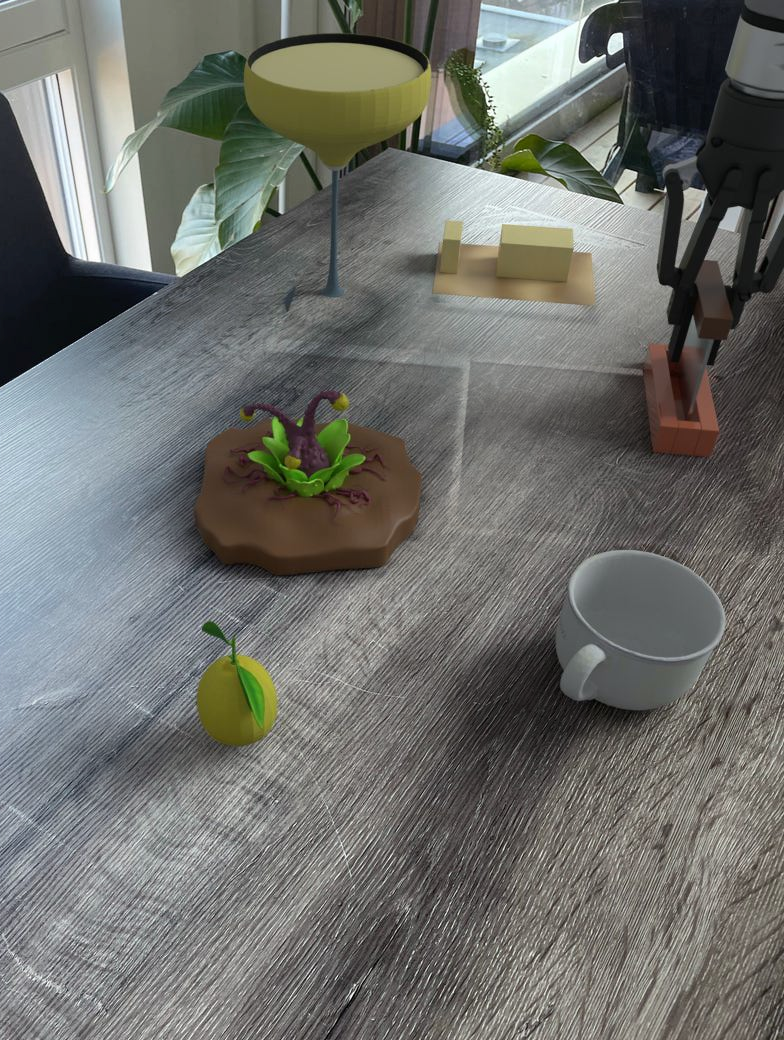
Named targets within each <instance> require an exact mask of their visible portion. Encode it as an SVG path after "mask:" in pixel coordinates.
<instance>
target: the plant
mask: <svg viewBox="0 0 784 1040" xmlns="http://www.w3.org/2000/svg"><path fill="white" fill-rule="evenodd" d="M322 400H328V401H329V404H330V407H331V408H332V409H334V410H335V411H337V412H345V411H346V410H348V408H349V406H350V399H349V398H348V397H347V395H345V393H343V392H341V391H337V390H330V389H328V390H321V391H319V393H317V394H316V395H315V396H314V397H313V398H312V399H311V401H310V403H308V404H307V406H306V407H307V408H306V409H305V410H304V411H303V416H302V417H301V418H300V417H297V418H294V419H291V416H288V413H284V412H283V410H282V409H281V410H280V409H279V407H274V406H273V405H271V404H270V403H267V404H266V403H265V402H263V403H261V402H259V403H258V402H257V403H256V404H255V403H253V404H247V405H244V406H243V407H242V408H240V411H239V417H240V419H241V420H242V421H243V422H244V423H250V422H251V421H252V420H253V419H254V418H255V416H256V410H258V411H261V410H262V411H263V412H268V413H269V414H270V415H273V416H274V417H273V418H264V419H262V420H260V421H259V422H257V423H256V424H254V425H252V426H250V427H247V428H237V427H230V428H227V429H226V430H224V431H222V432H220V433H219V434H217V435H216V436H214V437H213V438H212V439H211V440H210V441H209V442H208V443H207V445H206V447H205V450H204V459H203V463H204V464H203V465H204V473H203V476H202V477H203V478H202V482H201V488H200V491H199V492H200V493H199V496H198V498H197V500H196V502H195V503H194V505H193V509H192V512H193V523H194V526H195V528H196V530H198V532H199V534H200V538H201V540H202V542H203V544H204V545H205V546H206V547H207V548H208V549H209V550H210V551H212V552H213V553H214V554H215V555H216V557H217V558H218V560H219V561H220V563H221V564H222V565H224V566H227V565H234V564H250V565H253V566H257V567H260V568H262V569H264V570H266V571H267V572H268V573H270V574H272V575H276V576H292V575H298V574H310V573H320V572H328V571H329V572H330V571H337V570H339V571H340V570H355V569H368V568H369V569H370V568H379V567H382V566H385V565H387V562H388V561H389V560H390V558H391V556H392V555H393V553H394V552H395V550H396V549H397V547H399V546H400V544H401V543H402V542H404V541H405V540H407V539H408V538H409V537H410V536H411V535H412V533H413V532H414V530H415V528H416V526H417V523H418V519H419V513H420V503H421V502H420V501H421V493H422V484H423V475H422V473H421V471H419V469H417V468H416V467H415V466H414V465H413V464H412V463H411V460H410V459H409V456H408V455H409V454H408V451H407V448H406V444H405V443H406V442H405V439H404V438H402V437H398V436H395V435H392V434H389V433H387V432H383V431H380V430H376V429H372V428H370V427H369V428H368V427H365V426H362V425H358V424H355V423H351V422H348V421H347V419H345V418H340V419H337V420H334V421H332V422H321V423H316V420H315V419H316V418H315V416H316V412H317V409H318V408H319V404H320V403H321V402H322Z"/></svg>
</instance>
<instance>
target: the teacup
mask: <svg viewBox="0 0 784 1040" xmlns="http://www.w3.org/2000/svg"><path fill="white" fill-rule="evenodd" d="M726 619H727V618H726V612H725V608H724V606H723V604H722V601H721V599H720V598H719V596H718V595H717V594H716V592H715V591H714V589H713V588H712V587H711V586H710V585H709V584H708V583H707V582H706V580H704V579H703V578H702V577H701V576H699V575H698V574H697V573H696V572H695V571H694V570H692V569H691V568H689V567H688V566H686V565H683V564H681V563H679V562H678V561H675V560H673V559H671V558H670V557H666V556H663V555H660V554H657V553H653V552H648V551H643V550H635V549H619V550H618V549H616V550H609V551H603V552H600V553H597V554H594V555H592V556H590V557H588V558H586V559H585V560H583V561H581V562H580V563H579V564H578V566H576V567H575V570H573V572H572V574H571V575H570V577H569V580H568V583H567V590H566V595H565V598H564V601H563V604H562V607H561V611H560V614H559V619H558V620H557V621H558V622H557V626H556V632H555V651H556V656H557V658H558V662H559V664H560V667H561V668H562V670H563V673H562V675H561V678H560V682H559V688H560V691H562V693H563V694H564V695H565V696H567V697H568V698H570V699H572V700H573V701H576V702H582V701H583V702H584V701H592V700H596V701H597V702H601V703H602V704H604V705H607V706H610V707H614V708H617V709H621V710H629V711H649V710H654V709H659V708H663V707H665V706H667V705H669V704H672V703H674V702H675V701H677V700H678V699H680V698H681V697H682V696H684V695H685V694H686V693H687V692H688V691H689V690H690V688H691V687H692V686H693V685H694V683H695V682H696V680H697V679H698V677H699V675H700V674H701V672H702V671H703V669H704V667H705V666H706V665H707V662H708V660H709V658H710V657H711V654H712V653H713V651H714V649H715V648H716V647H717V645H719V643H720V642H721V640H722V638H723V636H724V633H725V630H726V621H727V620H726Z"/></svg>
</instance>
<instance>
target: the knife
mask: <svg viewBox="0 0 784 1040" xmlns="http://www.w3.org/2000/svg"><path fill="white" fill-rule="evenodd" d="M724 285H725V283H724V279H723V275H722V272H721V268H720V264H719V261H718V260H711V259H704V261H703V264H702V266H701V268H700V271H699V273H698V276H697V278H696V280H695V287H696V291H697V295H698V298H697V302H696V306H695V309H694V313H693V316H692V320H691V323H690V326H689V330H688V333H687V337H686V340H685V343H684V347H683V350H682V353H681V357H680V360H679V363H675V365H676V371H675V372H677V377H678V383H679V388H680V394H681V400H682V405H683V411H684V417H685V421H690V418H691V414H692V411H693V408H694V404H695V401H696V398H697V394H698V391H699V388H700V384H701V381H702V378H703V374H704V371H705V368H706V369H707V366H708V365H707V361H708V358H709V355H710V351H711V348H712V345H713V341H714V340H722V341H727V340H728V338H729V334H730V331H731V329H730V328H731V325H732V321H733V317H732V314H731V310H730V306H729V302H728V298H727V295H726V291H725V287H724Z"/></svg>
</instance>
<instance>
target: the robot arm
mask: <svg viewBox="0 0 784 1040" xmlns="http://www.w3.org/2000/svg"><path fill="white" fill-rule="evenodd" d="M733 36H734V37H733V40H732V44H731V47H730V51H729V55H728V58H727V61H726V64H725V69H724V70H725V72H726V75H727V76H728V77H727V78H726V79H725V80H724V81H723V82H721V84H720V86H719V91H718V95H717V98H716V102H715V105H714V109H713V113H712V117H711V121H710V124H709V128H708V130H707V131H708V132H707V134H706V137H705V139H704V141H703V142H702V143H701V145H699V147H698V148H697V150H696V151H695V155H694V156H692V157H689V158H687V159H683V160H681V161H678V162H676V161H675V160H667V161H665V162H664V163H663V165H662V167H661V171H662V177H663V182H664V185H665V189H666V193H665V202H664V208H663V216H662V223H661V229H660V230H661V231H660V236H659V246H658V253H657V260H656V274H657V279H658V283H659V285H660V286H663V287H666V286H668V287H670V288H672V290H671V294H670V297H669V301H668V305H667V307H666V312H665V313H666V317H667V324H668V325H669V326H670V325H671V326H673V328H672V331H671V335H670V339H669V341H668V344H667V345H668V351H669V357H670V362H674V363H679V360H680V357H681V353H682V350H683V347H684V343H685V340H686V337H687V333H688V330H689V326H690V323H691V320H692V316H693V313H694V309H695V306H696V302H697V298H698V295H697V291H696V287H695V280H696V278H697V276H698V273H699V271H700V268H701V266H702V264H703V261H704V260H706V257H707V254H708V252H709V250H710V247H711V245H712V243H713V240H714V238H715V235H716V234H717V231H718V229H719V226H720V224H721V223H722V221H723V220H724V219H725V217H726V214H727V212H728V210H729V209H730V208H736V207H740V208H742V209H744V213H743V214H744V215H743V220H742V226H741V231H740V236H739V243H738V246H737V247H738V248H737V252H736V253H737V254H736V258H735V264H734V270H733V274H732V285H730V284H729V285H728V284H724V287H725V291H726V295H727V298H728V302H729V306H730V310H731V314H732V317H733V321H732V325H731V328H730V330H732V331H733V330H736V328H737V327H738V326H739V324H740V320H741V318H742V314H743V312H744V308H745V306H746V303H748V302H749V301H751V299H752V298H753V295H754V294H757V293H762V294H769V293H771V292H773V291H774V289H775V287H776V285H777V283H778V280H779V279H780V277H781V274H782V272H783V270H784V213H783V214H782V217H781V218H780V221H779V223H778V225H777V228H775V231H774V234H773V235H772V238H771V240H770V241H769V245H768V246H767V249H766V251H765V252H764V255H763V257H762V258H761V259H762V260H761V261H760V264H759V266H758V268H757V262H758V257H759V252H760V247H761V242H762V237H763V231H764V227H765V223H766V221H767V218H768V215H769V208H770V203H771V202H772V201H773V200H774V199H775V198H776V197H777V196H779V195H780V194H781V193H782V192H783V191H784V0H744V2H743V6H742V9H741V12H740V15H739V19H738V22H737V25H736V29H735V32H734V35H733ZM696 174H699V176H700V178H701V180H702V183H703V185H704V188H705V189H706V194H705V198H704V200H703V207H702V208H701V211H700V214H699V216H698V219H697V221H696V224H695V226H694V228H693V230H692V233H691V236H690V238H689V240H688V243H687V245H686V248H685V250H684V253H683V255H682V257H681V260H680V263H679V264H678V267H677V266H676V263H677V255H678V249H679V248H678V247H679V241H680V234H681V228H682V220H683V213H684V206H685V194H684V192H685V191H687V190H688V189H690V188H691V186H692V183H693V177H694V176H695V175H696ZM756 268H757V270H756ZM722 341H723V340H714V341H713V345H712V348H711V351H710V355H709V358H708V361H707V365H706V366H710V367H714V366H715V363H716V359H717V356H718V354H719V350H720V347H721V344H722Z"/></svg>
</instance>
